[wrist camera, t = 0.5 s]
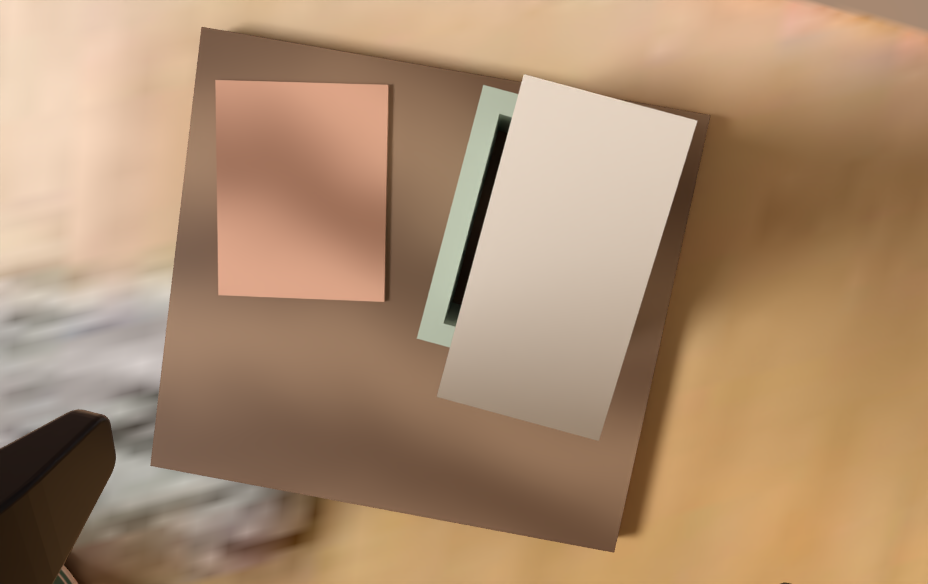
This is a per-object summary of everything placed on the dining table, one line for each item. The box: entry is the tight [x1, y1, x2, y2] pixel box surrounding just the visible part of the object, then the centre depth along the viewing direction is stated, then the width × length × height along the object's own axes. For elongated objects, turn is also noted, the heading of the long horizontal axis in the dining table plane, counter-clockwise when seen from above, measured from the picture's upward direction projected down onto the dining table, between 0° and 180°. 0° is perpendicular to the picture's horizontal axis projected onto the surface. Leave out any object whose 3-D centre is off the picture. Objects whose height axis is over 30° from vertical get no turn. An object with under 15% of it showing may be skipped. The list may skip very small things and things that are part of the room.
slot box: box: [417, 85, 518, 347], centre depth 20 cm, size 7×5×4 cm, turn 165°
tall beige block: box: [437, 74, 697, 441], centre depth 16 cm, size 5×3×12 cm, turn 165°
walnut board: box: [150, 27, 710, 552], centre depth 23 cm, size 15×16×1 cm
